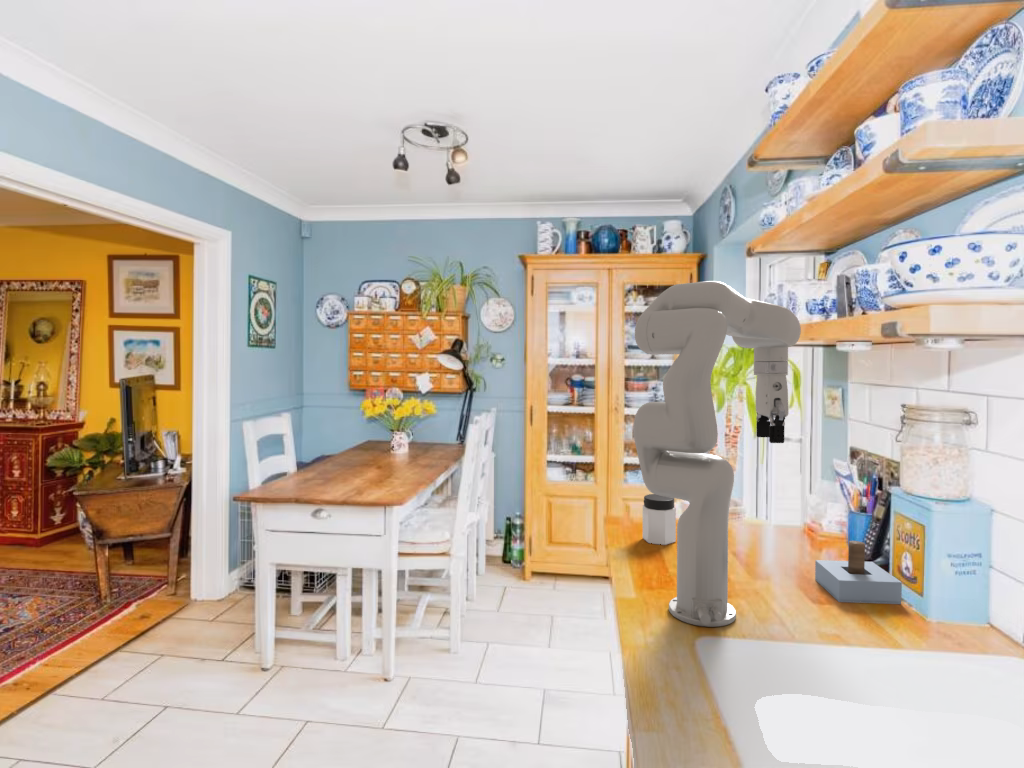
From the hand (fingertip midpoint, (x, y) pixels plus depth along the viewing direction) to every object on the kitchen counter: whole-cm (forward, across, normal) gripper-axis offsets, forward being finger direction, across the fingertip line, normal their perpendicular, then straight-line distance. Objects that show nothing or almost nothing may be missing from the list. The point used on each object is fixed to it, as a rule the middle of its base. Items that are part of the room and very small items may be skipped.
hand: (769, 439), depth 141 cm
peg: (+30, -16, -13) cm, 36 cm away
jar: (+31, +16, +24) cm, 42 cm away
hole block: (+30, -16, -13) cm, 37 cm away
